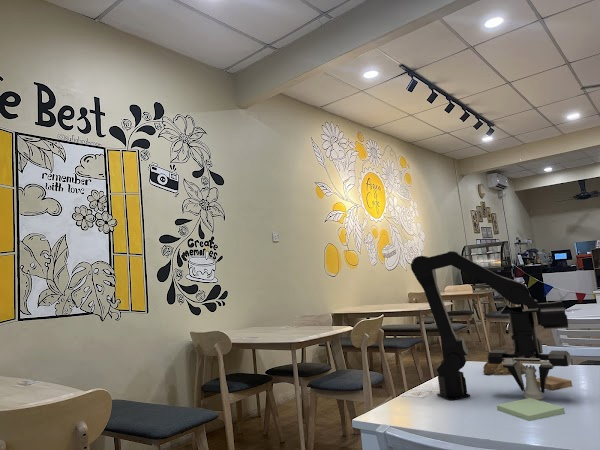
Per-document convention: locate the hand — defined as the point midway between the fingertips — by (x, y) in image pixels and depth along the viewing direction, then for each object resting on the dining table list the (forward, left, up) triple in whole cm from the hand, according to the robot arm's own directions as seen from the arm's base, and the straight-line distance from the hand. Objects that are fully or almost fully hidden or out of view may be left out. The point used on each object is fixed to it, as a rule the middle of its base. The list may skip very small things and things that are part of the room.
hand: (533, 391), depth 113 cm
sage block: (-9, -8, -2) cm, 12 cm away
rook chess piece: (0, 0, -2) cm, 2 cm away
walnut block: (+12, +6, -2) cm, 14 cm away
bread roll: (+15, +28, -2) cm, 32 cm away
